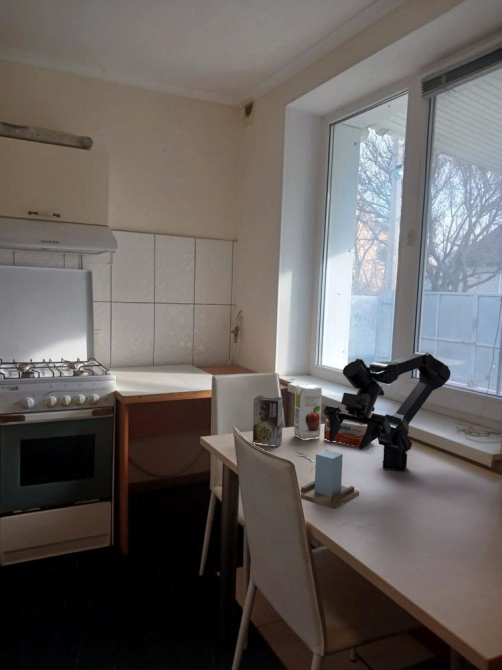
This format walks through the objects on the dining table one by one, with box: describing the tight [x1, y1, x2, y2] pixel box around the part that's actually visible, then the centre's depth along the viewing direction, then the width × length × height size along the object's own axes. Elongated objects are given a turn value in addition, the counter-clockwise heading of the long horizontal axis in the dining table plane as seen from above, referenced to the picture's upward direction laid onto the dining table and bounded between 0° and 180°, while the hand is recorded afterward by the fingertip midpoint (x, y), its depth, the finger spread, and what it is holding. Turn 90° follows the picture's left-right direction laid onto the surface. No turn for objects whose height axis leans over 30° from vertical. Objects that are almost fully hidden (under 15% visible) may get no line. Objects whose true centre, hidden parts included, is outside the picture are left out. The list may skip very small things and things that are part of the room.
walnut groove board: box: [300, 480, 360, 509], centre depth 132 cm, size 12×12×2 cm
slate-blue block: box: [314, 449, 343, 497], centre depth 131 cm, size 5×5×10 cm
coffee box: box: [252, 395, 284, 447], centre depth 174 cm, size 9×6×16 cm
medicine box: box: [323, 418, 367, 448], centre depth 180 cm, size 15×8×8 cm, turn 60°
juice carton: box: [293, 384, 323, 439], centre depth 182 cm, size 8×9×19 cm
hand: (344, 445), depth 137 cm, fingers open, 9 cm apart
